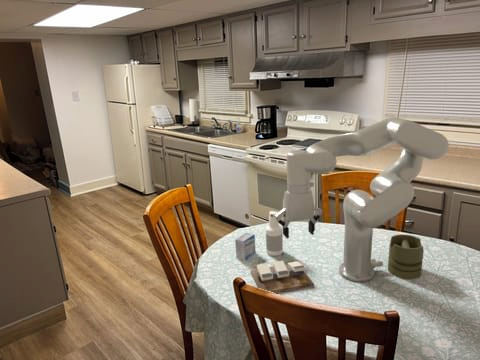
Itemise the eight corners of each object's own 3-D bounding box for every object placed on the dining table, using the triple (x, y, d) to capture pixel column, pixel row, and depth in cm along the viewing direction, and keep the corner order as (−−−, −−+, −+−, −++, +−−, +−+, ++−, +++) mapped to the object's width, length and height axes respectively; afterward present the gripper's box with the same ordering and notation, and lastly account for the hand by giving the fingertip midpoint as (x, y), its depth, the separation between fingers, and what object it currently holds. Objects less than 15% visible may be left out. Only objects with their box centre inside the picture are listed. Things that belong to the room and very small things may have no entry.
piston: (391, 247, 128) (388, 233, 138) (389, 277, 132) (386, 261, 142) (427, 250, 125) (421, 235, 135) (423, 280, 129) (418, 264, 139)
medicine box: (244, 261, 148) (243, 241, 145) (236, 258, 150) (234, 239, 148) (256, 253, 154) (255, 234, 151) (247, 250, 156) (246, 231, 154)
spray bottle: (263, 254, 152) (262, 214, 147) (270, 247, 158) (269, 208, 153) (279, 257, 149) (278, 216, 144) (285, 250, 155) (284, 210, 149)
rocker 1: (267, 265, 135) (267, 262, 135) (272, 278, 129) (273, 276, 129) (256, 267, 134) (256, 264, 134) (262, 280, 128) (262, 277, 128)
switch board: (297, 265, 143) (297, 257, 142) (313, 286, 129) (313, 278, 128) (250, 272, 139) (250, 265, 138) (261, 295, 125) (261, 287, 124)
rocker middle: (282, 263, 136) (282, 260, 136) (289, 276, 130) (289, 273, 130) (272, 264, 136) (272, 261, 135) (278, 278, 130) (278, 275, 129)
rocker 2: (298, 264, 138) (297, 260, 138) (305, 270, 131) (304, 266, 131) (288, 266, 137) (287, 262, 137) (294, 272, 130) (294, 268, 130)
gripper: (318, 181, 127) (317, 227, 132) (270, 187, 124) (271, 234, 129) (327, 187, 120) (326, 236, 125) (277, 194, 117) (278, 243, 122)
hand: (298, 234), depth 127 cm, fingers open, 8 cm apart
